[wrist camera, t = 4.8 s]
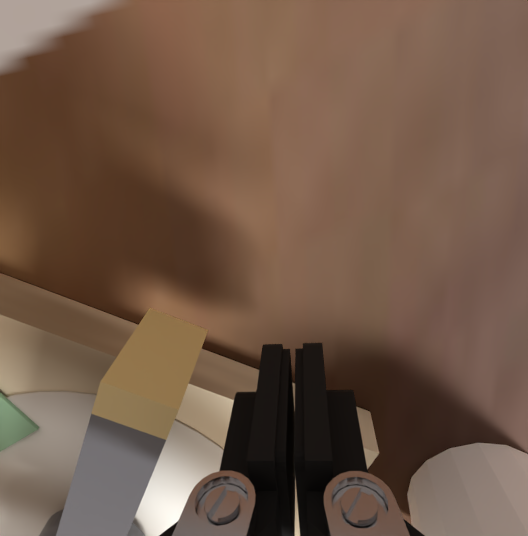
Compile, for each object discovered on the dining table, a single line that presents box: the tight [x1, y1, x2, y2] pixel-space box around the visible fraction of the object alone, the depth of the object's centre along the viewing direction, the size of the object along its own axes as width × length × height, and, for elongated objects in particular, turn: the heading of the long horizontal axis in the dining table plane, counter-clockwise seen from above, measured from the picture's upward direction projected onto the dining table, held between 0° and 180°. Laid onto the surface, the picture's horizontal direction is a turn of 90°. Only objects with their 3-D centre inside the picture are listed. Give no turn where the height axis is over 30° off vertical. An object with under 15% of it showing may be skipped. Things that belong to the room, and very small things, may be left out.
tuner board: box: [0, 273, 379, 536], centre depth 18 cm, size 18×16×2 cm
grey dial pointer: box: [39, 308, 208, 536], centre depth 14 cm, size 16×4×3 cm, turn 158°
